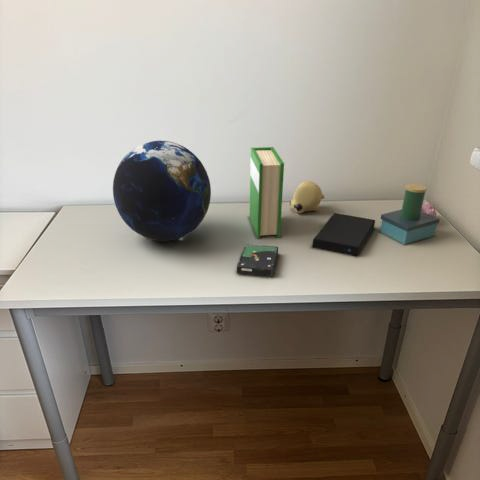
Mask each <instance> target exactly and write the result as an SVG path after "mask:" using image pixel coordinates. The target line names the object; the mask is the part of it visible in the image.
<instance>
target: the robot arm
mask: <svg viewBox="0 0 480 480" xmlns="http://www.w3.org/2000/svg"><path fill="white" fill-rule="evenodd" d="M469 160H470V161H469V165H471V166H472V167H473V168H475V169H477V171H480V147H475V148H473V151H472V153H471V156H470V159H469Z"/></svg>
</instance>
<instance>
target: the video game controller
mask: <svg viewBox="0 0 480 480" xmlns="http://www.w3.org/2000/svg"><path fill="white" fill-rule="evenodd" d="M421 211H423V212H425V213H427V214H429V215H432V216H434V217H436V216H437V211H436V207H435V206H434V205H433V204H432V203H429V202H423V205H422V210H421Z"/></svg>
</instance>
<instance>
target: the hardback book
mask: <svg viewBox="0 0 480 480" xmlns="http://www.w3.org/2000/svg"><path fill="white" fill-rule="evenodd" d="M284 171H285V162H284V161H283V159H282V158H281V157H280V155H279V153H278V152H277V151H276V149H275V148H274V146H263V147H261V146H260V147H258V146H257V147H250V171H249V172H250V173H249V220H250V222H251V224H252V228H253V230H254V233H255V236H256V238H257V239H261V236H276V238H281V228H282V227H281V226H282V223H281V222H282V209H283V192H284V191H283V190H284V174H285V172H284Z"/></svg>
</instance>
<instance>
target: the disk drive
mask: <svg viewBox="0 0 480 480" xmlns="http://www.w3.org/2000/svg"><path fill="white" fill-rule="evenodd" d="M278 256H279V246H275V245H262V244H261V245H256V244H255V245H253V244H246V245H244V247H243V249H242V252H241V254H240V257H239V260H238V261H237V264H236V274H239V275H247V276H258V277H273V274H274V270H275V267H276V263H277V259H278Z"/></svg>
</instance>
